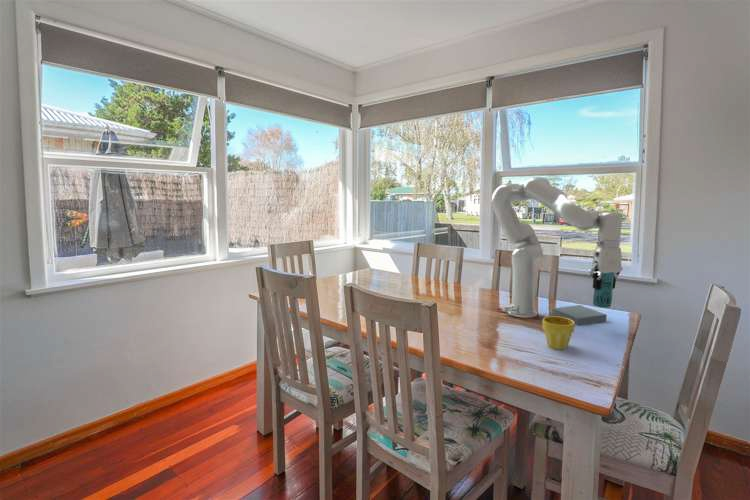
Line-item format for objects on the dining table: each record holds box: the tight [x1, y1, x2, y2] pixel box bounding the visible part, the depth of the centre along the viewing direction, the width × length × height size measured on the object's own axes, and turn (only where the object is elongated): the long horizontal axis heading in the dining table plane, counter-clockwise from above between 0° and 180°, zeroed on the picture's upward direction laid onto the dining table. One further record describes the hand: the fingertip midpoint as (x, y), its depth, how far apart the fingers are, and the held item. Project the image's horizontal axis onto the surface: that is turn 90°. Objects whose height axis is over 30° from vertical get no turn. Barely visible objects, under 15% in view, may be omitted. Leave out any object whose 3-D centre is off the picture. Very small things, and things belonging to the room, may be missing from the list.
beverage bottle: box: [592, 272, 615, 309], centre depth 158 cm, size 6×7×20 cm
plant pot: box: [542, 315, 576, 351], centre depth 144 cm, size 10×10×10 cm
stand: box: [551, 304, 608, 326], centre depth 175 cm, size 15×15×3 cm
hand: (603, 288), depth 158 cm, fingers closed on beverage bottle, 6 cm apart
